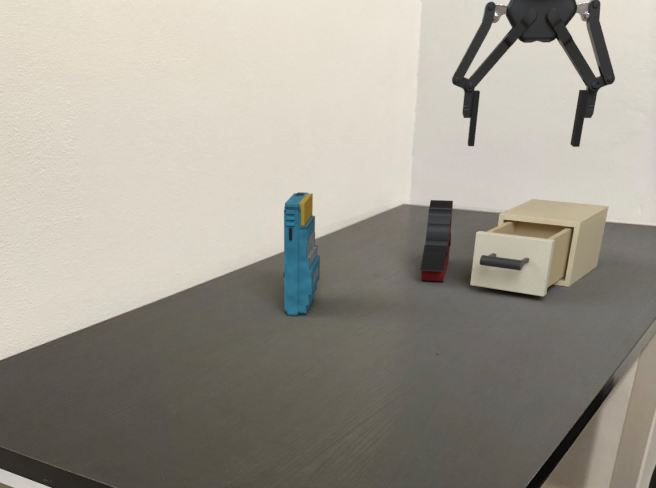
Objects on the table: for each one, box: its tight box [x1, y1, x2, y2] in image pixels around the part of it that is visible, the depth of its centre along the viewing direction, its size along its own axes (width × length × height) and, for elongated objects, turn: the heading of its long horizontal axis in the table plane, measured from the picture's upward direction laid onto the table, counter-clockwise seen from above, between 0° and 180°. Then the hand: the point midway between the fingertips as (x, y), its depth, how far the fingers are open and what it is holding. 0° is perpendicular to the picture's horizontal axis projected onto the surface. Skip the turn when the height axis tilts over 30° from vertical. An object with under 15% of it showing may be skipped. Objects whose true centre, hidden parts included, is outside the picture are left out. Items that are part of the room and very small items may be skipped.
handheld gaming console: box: [283, 191, 321, 317], centre depth 112 cm, size 10×4×15 cm, turn 169°
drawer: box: [469, 220, 574, 297], centre depth 119 cm, size 18×11×8 cm, turn 144°
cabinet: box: [497, 198, 609, 288], centre depth 128 cm, size 15×13×10 cm
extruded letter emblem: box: [420, 199, 454, 282], centre depth 128 cm, size 18×4×11 cm, turn 165°
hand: (522, 145), depth 107 cm, fingers open, 13 cm apart
